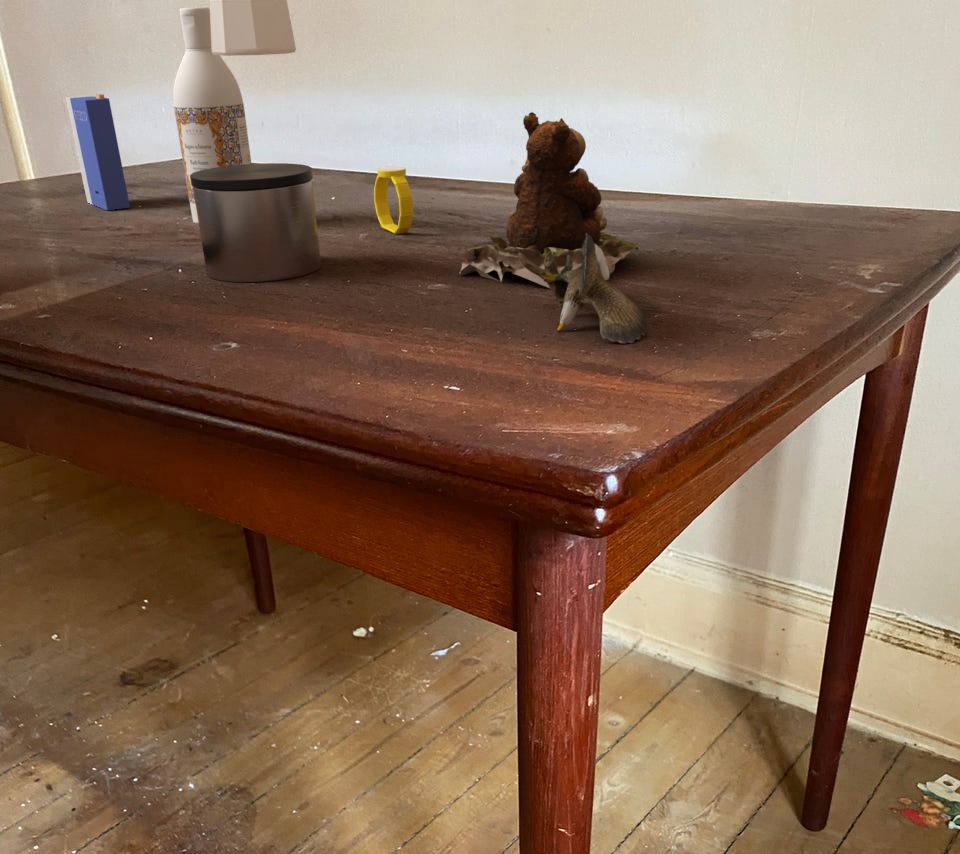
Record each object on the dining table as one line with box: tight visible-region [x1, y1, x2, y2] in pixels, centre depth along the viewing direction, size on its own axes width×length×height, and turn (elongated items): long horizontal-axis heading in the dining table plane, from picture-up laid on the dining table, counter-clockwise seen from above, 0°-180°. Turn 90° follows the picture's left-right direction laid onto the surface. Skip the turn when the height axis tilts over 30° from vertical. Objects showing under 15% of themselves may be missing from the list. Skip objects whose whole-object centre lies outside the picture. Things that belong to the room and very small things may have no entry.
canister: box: [190, 162, 322, 283], centre depth 90 cm, size 10×10×8 cm
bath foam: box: [172, 6, 252, 224], centre depth 107 cm, size 7×7×20 cm
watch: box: [373, 165, 414, 235], centre depth 104 cm, size 6×3×6 cm, turn 31°
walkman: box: [65, 93, 131, 211], centre depth 123 cm, size 8×3×12 cm, turn 35°
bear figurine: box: [458, 112, 639, 289], centre depth 86 cm, size 14×15×12 cm
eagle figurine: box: [518, 233, 649, 345], centre depth 71 cm, size 8×7×9 cm
